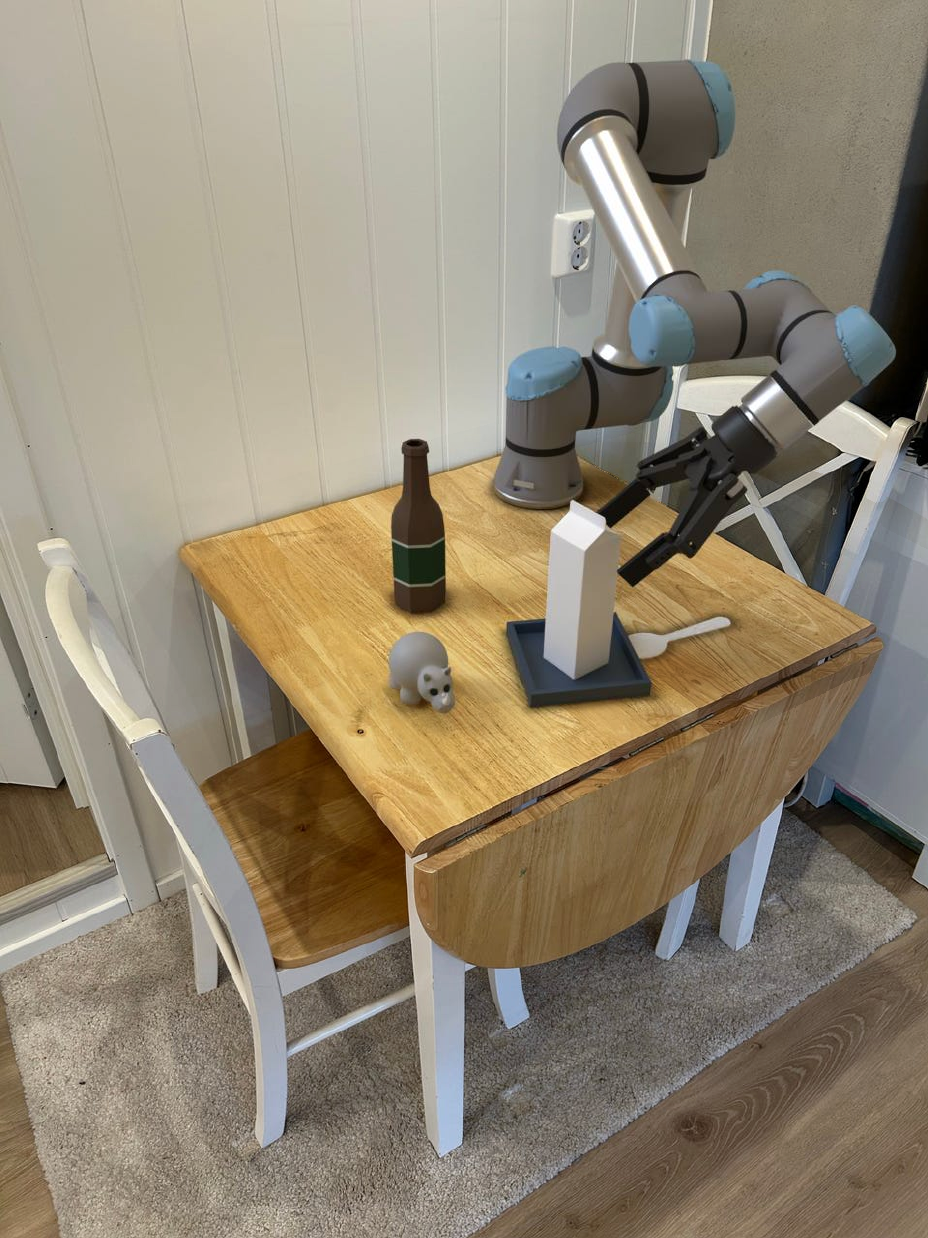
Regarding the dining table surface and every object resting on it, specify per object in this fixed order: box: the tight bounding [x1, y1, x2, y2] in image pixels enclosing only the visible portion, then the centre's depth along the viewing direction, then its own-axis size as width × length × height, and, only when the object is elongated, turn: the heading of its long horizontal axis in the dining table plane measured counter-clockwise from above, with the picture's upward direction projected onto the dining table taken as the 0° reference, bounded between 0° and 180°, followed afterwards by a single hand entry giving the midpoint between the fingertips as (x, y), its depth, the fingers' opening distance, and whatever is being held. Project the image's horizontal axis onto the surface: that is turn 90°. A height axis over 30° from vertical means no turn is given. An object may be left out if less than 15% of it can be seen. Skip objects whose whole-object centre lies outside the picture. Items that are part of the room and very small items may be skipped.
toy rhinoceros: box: [388, 631, 456, 715], centre depth 114 cm, size 7×12×8 cm, turn 25°
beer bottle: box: [390, 438, 447, 614], centre depth 129 cm, size 8×8×24 cm
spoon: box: [628, 616, 732, 660], centre depth 128 cm, size 5×18×1 cm, turn 115°
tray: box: [505, 611, 653, 709], centre depth 123 cm, size 16×15×2 cm
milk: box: [544, 500, 623, 680], centre depth 117 cm, size 6×6×22 cm
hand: (612, 548), depth 114 cm, fingers open, 13 cm apart
